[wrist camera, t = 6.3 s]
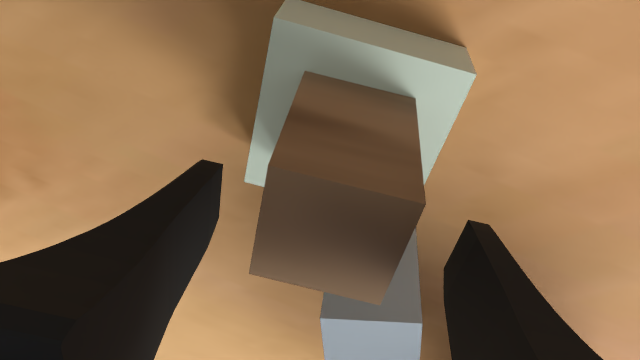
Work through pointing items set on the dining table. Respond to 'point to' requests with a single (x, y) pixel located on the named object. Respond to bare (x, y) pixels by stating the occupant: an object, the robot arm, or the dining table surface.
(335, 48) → the sage slab
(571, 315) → the dining table surface
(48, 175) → the dining table surface
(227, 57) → the dining table surface
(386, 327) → the bluegrey post
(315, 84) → the walnut post
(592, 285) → the dining table surface
